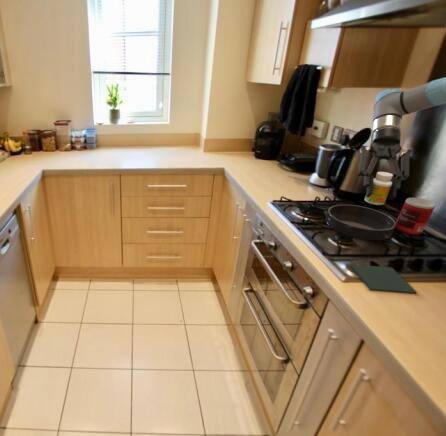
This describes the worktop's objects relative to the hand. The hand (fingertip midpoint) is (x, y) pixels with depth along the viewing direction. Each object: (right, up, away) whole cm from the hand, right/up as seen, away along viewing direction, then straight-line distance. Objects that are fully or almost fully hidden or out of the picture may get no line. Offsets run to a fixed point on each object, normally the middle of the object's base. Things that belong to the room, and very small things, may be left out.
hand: (380, 196), depth 99 cm
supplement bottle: (+2, -2, +5) cm, 5 cm away
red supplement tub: (+20, -11, +13) cm, 27 cm away
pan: (+5, -10, +16) cm, 19 cm away
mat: (-9, -24, -10) cm, 28 cm away
